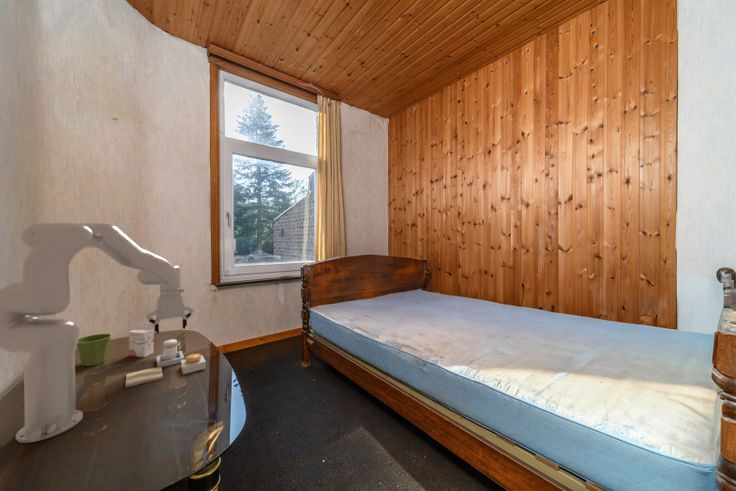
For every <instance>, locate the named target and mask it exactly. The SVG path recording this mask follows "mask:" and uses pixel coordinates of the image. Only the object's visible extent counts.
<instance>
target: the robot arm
mask: <svg viewBox="0 0 736 491" xmlns="http://www.w3.org/2000/svg"><path fill="white" fill-rule="evenodd" d="M21 240H22V242H23V243H24V244H25V245H26V246H27V247H28V248H30V249H31V250H30V251H29V252H28V254H27V255H26V257H25V258H24V261H23V263H22V264H23V265H22V281H17V282H14V283H13V282H12V283H9V284H8V285H6V286H3V288H1V289H0V349H1V350H3V351H5V352H11V353H25V354H31V355H30V357H29V359H28V361H27V364H26V365H25V368H24V371H23V372H24V373H23V384H24V385H23V386H24V388H23V389H24V392H23V393H24V396H23V397H24V426H23V427H22V428H20V430H18V431H17V433H16V434H15V441H16V440H17V441H18V443H22V444H23V443H25V444H27V443H34V442H36V443H37V442H39V441H43V440H46V439H49V438H53V437H56V436H57V435H60V434H62V433H64V432H67V431H69V430H70V429H72V428H74V427H75V426H76V425H77V424H79V423H80V422H81V421H82V420H83V418H84V412H83V411H81V410H78V409H76V350H77V343H78V339H79V338H80V328H79V326H78V325H77V324H76V323H75V322H73V321H71V320H69V319H63V318H52V317H50V318H48V317H47V318H46V317H45V318H42V316H52V315H53V316H54V315H57V314H60V313H62V312H65V311H66V310H67V308H69V305H70V302H71V288H70V287H71V286H70V264H71V261H72V260H73V259H74V257H75V256H76V255H77V254H79V252H81V251H82V250H84V249H85V248H94V249H95V248H96V249H99V250H100V251H101V252H103V253H104V254H106V255H107V256H108V257H110V259H113V261H114V262H116V263H118V264H119V265H120V266H124V267H127V268H130V269H135V270H140V271H138V273H137V277H136V278H137V281H138V283H140V284H142V285H144V286H145V285H146V286H159V296H157V299H156V306H155V307H156V310H154V311H152V312H150V313H148V314H146V315H145V318H146V319H147V320H148V323H152V324H153V327H154V332H155V333H156V334H157V335H159V333H160V327H159V326H160V324H159V322H161V321H162V320H169V319H175V318H176V319H177V318H182V328H183V329H186V327H187V326H188V325H187V324H188V321H187V320H188V319H189V318H190V317H191V316H192V314H193V312H194V308H192V307H188V306H185V301H184V295H183V294H182V293H183V292H184V293H185V289H184V288H181V268H180V266H179V265H175V264H174V265H173V264H172V263H170V261H168V260H167V259H165V258H163V257H161V256H159V255H157V254H155V253H153V252H151V251H149V250H147V249H143V248H142V247H141V246H139V245H138V244H137V243H136V242H135V241H134V240H133V239H131V238H130V237H129V236H128V235H127V234H126V233H124V232H123V231H122V230H121V229H120V228H119V227H118V226H115V224H111V223H103V222H102V223H101V222H99V223H94V222H93V223H92V222H91V223H88V222H86V223H75V222H39V223H33V224H31V225H29V226H27V227H26V228H24V230H23V231H22V234H21ZM185 311H188V312H187V313H186V314H185ZM153 316H156V318H155V319H154V318H152V317H153ZM17 441H16V442H17Z"/></svg>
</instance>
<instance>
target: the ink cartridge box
mask: <svg viewBox="0 0 736 491" xmlns="http://www.w3.org/2000/svg"><path fill="white" fill-rule="evenodd" d="M154 332H155V329H154V324H152V323H151V322H138V323H137V328H136V329H133V330H130V331H128V356H129V357H138V358H139V357H140V358H146V357H147V356H150V355H152V354H154V345H155V344H154V341H155V340H154V338H155V337H154Z"/></svg>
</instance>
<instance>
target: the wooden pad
mask: <svg viewBox="0 0 736 491" xmlns="http://www.w3.org/2000/svg"><path fill="white" fill-rule="evenodd" d="M162 368H163V367H161V366H159V367H156V366H155V367H152V368H148V369H143V370H138V371H134V372H131V373H127V374H126V378H125V387H124V388H129V387H130V388H131V387H134V386H138V385H141V384H142V385H143V384H145V383H149V382H153V381H157V380H161V379H164V376H163V375H164V374H163V370H162Z"/></svg>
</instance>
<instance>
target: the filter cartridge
mask: <svg viewBox="0 0 736 491" xmlns="http://www.w3.org/2000/svg"><path fill="white" fill-rule="evenodd" d="M162 347H163V348H162V350H163V352H162V353H163V354H162V355H163V360H162V361H166V360H171V359H175V358H178V357H177V352H178V340H177V339H168V340H167V339H166V340H165V341H163V343H162Z"/></svg>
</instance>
